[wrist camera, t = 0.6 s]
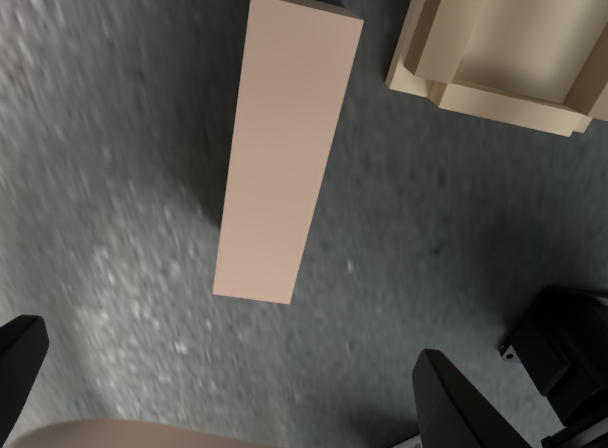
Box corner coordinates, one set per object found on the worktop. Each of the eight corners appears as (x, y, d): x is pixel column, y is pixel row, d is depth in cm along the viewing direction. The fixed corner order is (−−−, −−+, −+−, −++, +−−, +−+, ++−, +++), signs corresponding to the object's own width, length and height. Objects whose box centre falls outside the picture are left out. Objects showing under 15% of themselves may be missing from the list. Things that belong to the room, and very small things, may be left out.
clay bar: (344, 7, 17) (363, 20, 13) (288, 242, 23) (289, 304, 19) (260, -14, 16) (251, -7, 12) (226, 232, 23) (212, 293, 18)
